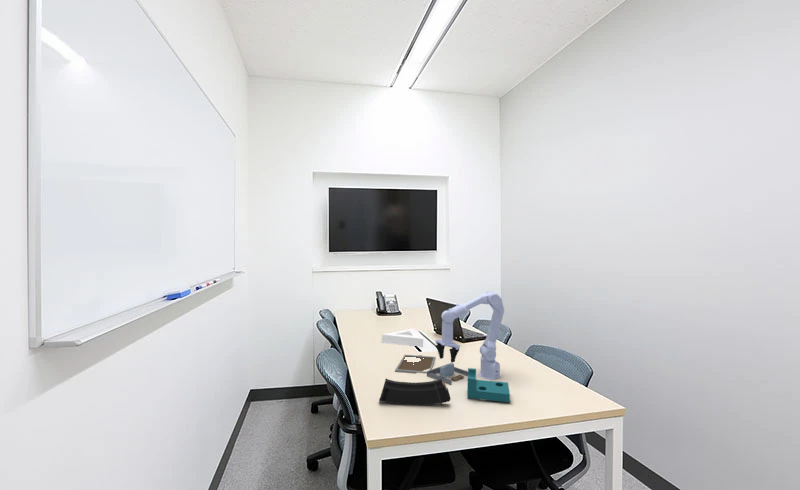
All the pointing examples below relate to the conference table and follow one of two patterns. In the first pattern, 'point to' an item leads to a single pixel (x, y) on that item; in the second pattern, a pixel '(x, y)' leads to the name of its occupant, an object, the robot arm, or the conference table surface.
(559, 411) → the conference table surface
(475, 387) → the teal l-shaped bracket
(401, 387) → the magazine
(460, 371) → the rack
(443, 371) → the panel
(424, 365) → the picture frame
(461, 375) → the offcut top
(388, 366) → the conference table surface
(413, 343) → the triangle block
